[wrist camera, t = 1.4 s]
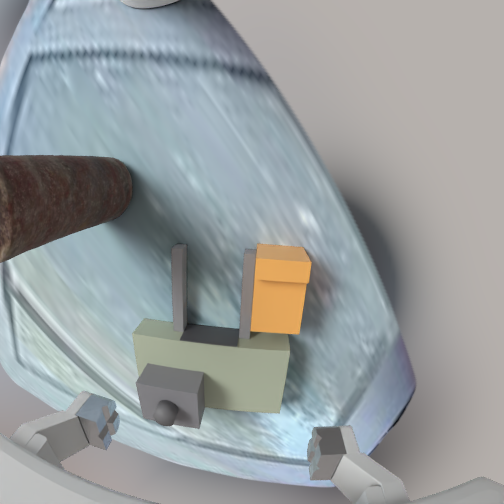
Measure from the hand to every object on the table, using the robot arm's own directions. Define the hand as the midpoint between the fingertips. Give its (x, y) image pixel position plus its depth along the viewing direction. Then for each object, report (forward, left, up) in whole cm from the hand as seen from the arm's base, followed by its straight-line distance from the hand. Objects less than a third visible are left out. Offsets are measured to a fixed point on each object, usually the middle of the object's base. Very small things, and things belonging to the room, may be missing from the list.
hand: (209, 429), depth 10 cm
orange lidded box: (+2, +4, -24) cm, 24 cm away
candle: (-8, -16, -24) cm, 30 cm away
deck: (+8, -3, -23) cm, 25 cm away
